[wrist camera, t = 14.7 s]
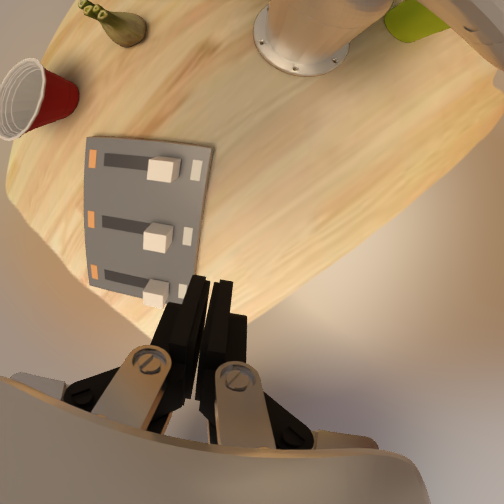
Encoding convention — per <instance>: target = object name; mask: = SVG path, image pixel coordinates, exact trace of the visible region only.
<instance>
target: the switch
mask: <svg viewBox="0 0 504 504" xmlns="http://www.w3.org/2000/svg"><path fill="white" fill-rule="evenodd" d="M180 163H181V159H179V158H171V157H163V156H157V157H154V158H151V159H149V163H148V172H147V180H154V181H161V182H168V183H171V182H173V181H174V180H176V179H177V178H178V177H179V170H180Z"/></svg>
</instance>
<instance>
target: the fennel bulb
mask: <svg viewBox="0 0 504 504" xmlns="http://www.w3.org/2000/svg"><path fill="white" fill-rule="evenodd" d="M78 6H79V8H81V9H83V12H84V15H86V16H89V17H91V18H94V19H96V20H98V21H99V22H100V23H101V25H102V27H103V29H104V30H105V32H106V33H107V35H108V36H109V37H110V38H111V39H112V41H114V42H115V43H117V44H119V45H120V46H122V47H130V46H133V45H134V44H137V43H139V42H140V41H141V40H142V39H143V38H144V35H145V31H146V24H145V22H144V20H143V18H142V17H140V16H139V15H136V14H132V13H125V12H109V11H107V10H105V9H104V8H103V7H101V6H100V5H98V4H97V5H95V4H93V3H91V2H90V1H88V0H81V1H80V2H79V3H78Z"/></svg>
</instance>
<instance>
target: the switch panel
mask: <svg viewBox="0 0 504 504" xmlns="http://www.w3.org/2000/svg"><path fill="white" fill-rule="evenodd" d="M213 150H214V147H209V146H203V145H196V144H188V143H180V142H171V141H162V140H152V139H140V138H127V137H109V136H92V137H87V140H86V152H85V169H84V228H85V245H86V257H87V267H88V276H89V284H90V286H94V287H98V288H102V289H106V290H110V291H114V292H118V293H122V294H126V295H130V296H134V297H139V298H143V290H144V289H145V287H146V285H147V283H148V282H149V280H150V279H154V280H159V281H164V282H169V296H168V298H167V300H166V304H167V303H168V302H173V303H178V304H182V302H183V299H184V297H185V294H186V291H187V288H188V286H189V283H190V280H191V277H192V275H196V266H197V258H198V250H199V242H200V234H201V227H202V219H203V212H204V205H205V199H206V192H207V186H208V180H209V173H210V168H211V162H212V156H213ZM157 156H163V157H171V158H179V159H181V163H180V170H179V177H178V178H177V179H176V180H174V181H173V182H171V183H168V182H161V181H154V180H147V172H148V163H149V159H151V158H154V157H157ZM153 222H154V223H159V224H165V225H171V226H173V237H172V243H171V245H170V246H169V248H168V249H167V251H166V253H160V252H155V251H150V250H145V249H143V236H144V231H145V230H146V229H147V228H148V227H149V226H150V225H151V224H152V223H153Z"/></svg>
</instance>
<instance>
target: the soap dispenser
mask: <svg viewBox="0 0 504 504" xmlns="http://www.w3.org/2000/svg"><path fill="white" fill-rule="evenodd" d="M385 25H386V27H387V29H388V30H389V32H390V33H391V34H392V35H393V36H394V37H395V38H397V39H398V40H400V41H402V42H406V43H410V42H414V41H416V40H419V39H421V38H424V37H426V36H429V35H432V34H434V33H437V32H440V31H443V30H446V29H449V28H451V27H450V26H448V25H447V24H446V23H445V22H444V21H443V20H441V19H440V18H439V17H438V16H436V15H435V14H434V13H433V12H431V11H430V10H429V9H427V8H426V7H425V6H423V5H422V4H421V3H419V2H418V1H416V0H405V1H403V2H402V3H400V4H399V5H397V6H396V7H394V8H393V9H392V10H390V11H389V12H387V13H386V15H385Z"/></svg>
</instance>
